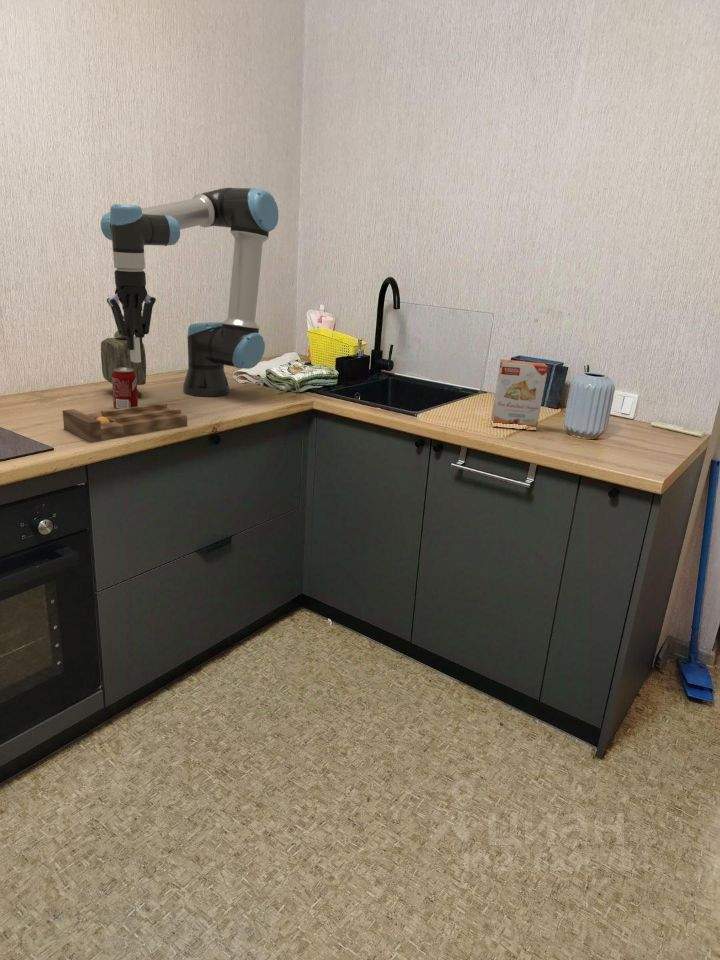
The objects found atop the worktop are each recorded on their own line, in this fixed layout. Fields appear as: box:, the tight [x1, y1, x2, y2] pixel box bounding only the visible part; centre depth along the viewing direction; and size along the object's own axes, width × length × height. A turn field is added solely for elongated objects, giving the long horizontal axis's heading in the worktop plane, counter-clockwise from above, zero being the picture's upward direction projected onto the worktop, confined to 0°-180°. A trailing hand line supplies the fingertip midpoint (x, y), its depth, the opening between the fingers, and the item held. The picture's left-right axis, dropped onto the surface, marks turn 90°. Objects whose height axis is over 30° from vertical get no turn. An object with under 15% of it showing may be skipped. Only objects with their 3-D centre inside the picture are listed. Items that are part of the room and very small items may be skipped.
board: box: [62, 402, 188, 443], centre depth 174 cm, size 28×14×5 cm, turn 138°
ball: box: [97, 417, 110, 424], centre depth 169 cm, size 4×4×4 cm
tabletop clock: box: [100, 314, 147, 398], centre depth 205 cm, size 14×9×25 cm, turn 40°
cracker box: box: [490, 359, 549, 428], centre depth 204 cm, size 14×6×21 cm, turn 86°
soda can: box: [111, 368, 139, 410], centre depth 190 cm, size 7×7×12 cm
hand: (135, 361), depth 175 cm, fingers closed
